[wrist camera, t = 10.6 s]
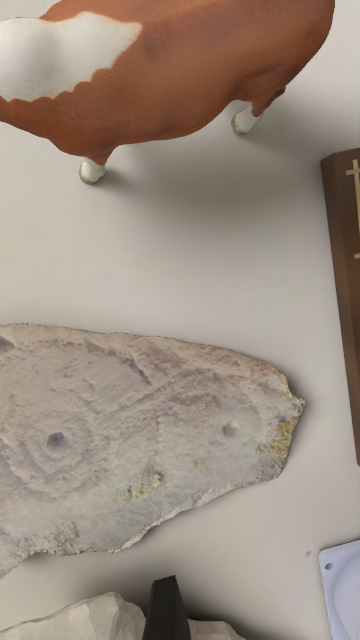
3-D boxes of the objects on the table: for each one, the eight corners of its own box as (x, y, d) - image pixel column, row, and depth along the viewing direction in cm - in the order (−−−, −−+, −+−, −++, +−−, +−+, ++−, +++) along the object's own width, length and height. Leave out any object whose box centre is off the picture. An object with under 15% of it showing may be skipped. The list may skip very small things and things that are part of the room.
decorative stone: (-45, 563, 19) (-60, 585, 18) (-88, 326, 16) (-109, 332, 15) (291, 528, 21) (301, 546, 19) (299, 309, 18) (311, 313, 17)
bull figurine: (-21, 107, 15) (-225, -66, 7) (265, 43, 15) (393, -189, 7) (13, 206, 16) (-132, 159, 8) (281, 143, 16) (408, 37, 8)
